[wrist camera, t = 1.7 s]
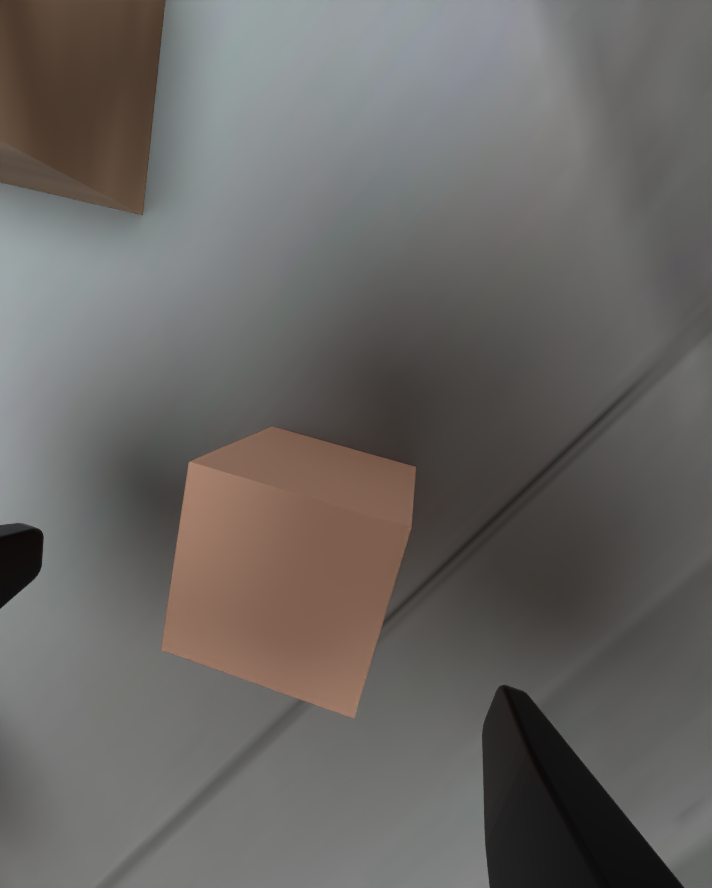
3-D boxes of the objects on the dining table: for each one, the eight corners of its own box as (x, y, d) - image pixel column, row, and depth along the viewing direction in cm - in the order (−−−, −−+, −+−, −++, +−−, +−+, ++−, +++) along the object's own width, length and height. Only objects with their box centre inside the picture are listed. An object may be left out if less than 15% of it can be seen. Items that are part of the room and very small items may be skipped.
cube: (377, 597, 13) (354, 718, 8) (247, 555, 13) (160, 649, 9) (416, 466, 12) (411, 528, 7) (272, 425, 12) (188, 461, 8)
